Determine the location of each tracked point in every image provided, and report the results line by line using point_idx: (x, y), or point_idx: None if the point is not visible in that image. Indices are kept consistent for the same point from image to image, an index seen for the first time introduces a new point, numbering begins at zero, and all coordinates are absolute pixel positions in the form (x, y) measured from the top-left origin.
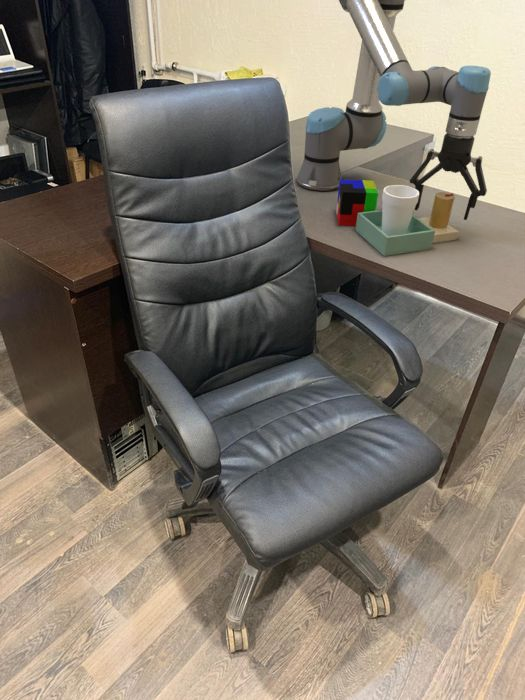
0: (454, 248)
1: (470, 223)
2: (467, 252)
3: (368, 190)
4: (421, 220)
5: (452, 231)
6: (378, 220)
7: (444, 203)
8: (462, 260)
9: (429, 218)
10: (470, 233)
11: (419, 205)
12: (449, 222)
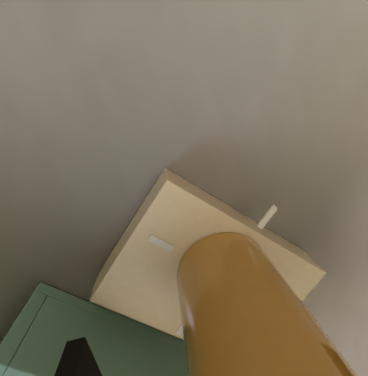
0: (314, 314)
1: (323, 20)
2: (359, 310)
3: None
4: (133, 285)
5: (303, 292)
6: None
7: None
8: (353, 361)
9: (156, 243)
10: (344, 151)
11: (82, 350)
12: (264, 219)
